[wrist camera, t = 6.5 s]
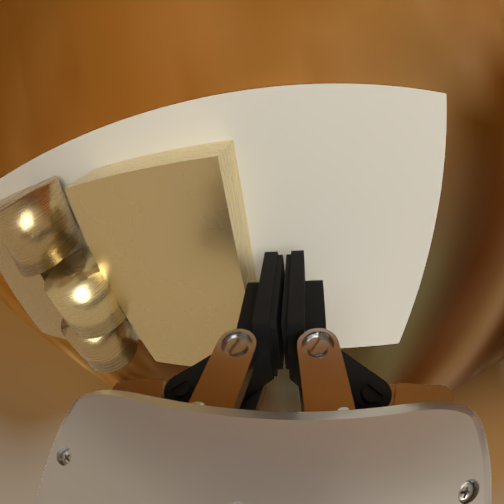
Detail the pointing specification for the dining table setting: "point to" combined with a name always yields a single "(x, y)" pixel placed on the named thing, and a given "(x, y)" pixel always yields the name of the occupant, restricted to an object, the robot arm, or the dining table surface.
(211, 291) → the door leaf
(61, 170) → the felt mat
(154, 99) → the dining table surface
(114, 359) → the frame leaf
